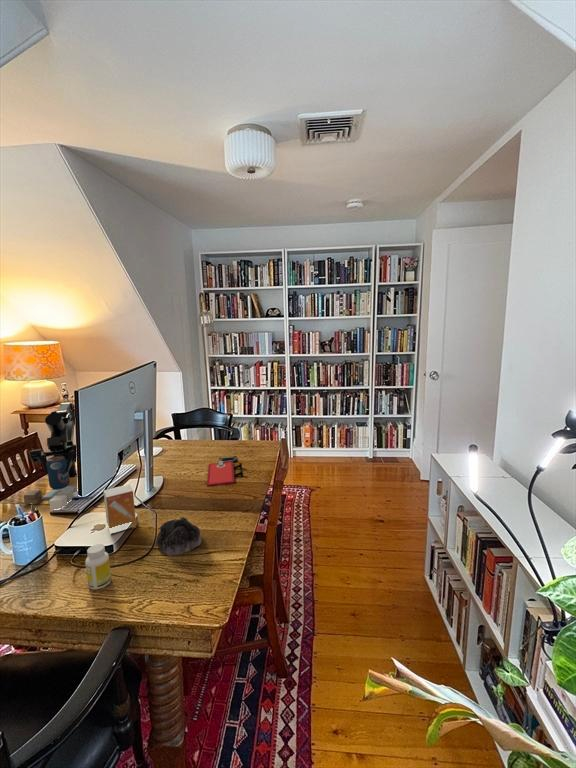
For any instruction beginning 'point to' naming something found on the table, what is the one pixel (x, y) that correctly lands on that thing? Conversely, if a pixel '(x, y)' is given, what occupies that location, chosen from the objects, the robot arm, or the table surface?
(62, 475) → the soda can
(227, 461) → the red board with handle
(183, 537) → the crystal cluster
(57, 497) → the off-white block
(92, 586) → the supplement bottle
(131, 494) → the small box
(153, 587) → the table surface
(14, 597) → the table surface
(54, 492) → the slate tile
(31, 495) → the walnut block
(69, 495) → the grey block
